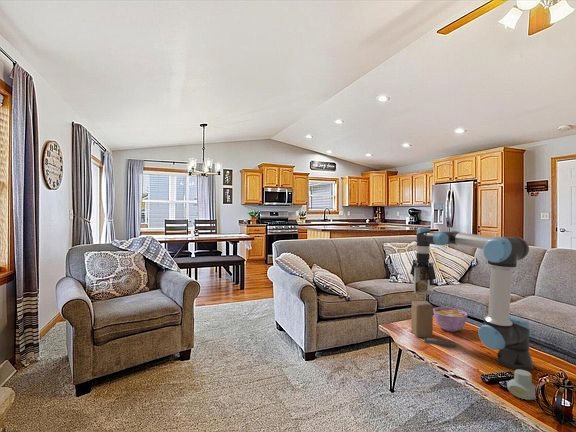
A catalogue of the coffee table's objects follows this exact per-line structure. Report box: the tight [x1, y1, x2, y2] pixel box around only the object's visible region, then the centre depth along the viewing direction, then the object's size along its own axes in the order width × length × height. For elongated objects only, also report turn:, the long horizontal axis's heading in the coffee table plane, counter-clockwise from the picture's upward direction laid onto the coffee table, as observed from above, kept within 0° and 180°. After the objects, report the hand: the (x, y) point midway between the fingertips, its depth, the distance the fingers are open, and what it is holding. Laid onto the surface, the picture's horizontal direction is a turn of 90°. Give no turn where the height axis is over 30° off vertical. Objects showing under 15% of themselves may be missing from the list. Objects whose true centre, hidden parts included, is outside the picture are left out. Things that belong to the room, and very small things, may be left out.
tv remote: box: [423, 337, 456, 348], centre depth 190 cm, size 16×4×2 cm, turn 64°
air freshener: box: [506, 369, 537, 401], centre depth 137 cm, size 11×8×10 cm
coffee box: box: [413, 266, 432, 295], centre depth 202 cm, size 9×6×16 cm
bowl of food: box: [433, 306, 468, 333], centre depth 213 cm, size 20×20×12 cm
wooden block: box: [410, 300, 434, 338], centre depth 203 cm, size 10×10×20 cm
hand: (422, 288), depth 202 cm, fingers closed on coffee box, 10 cm apart
